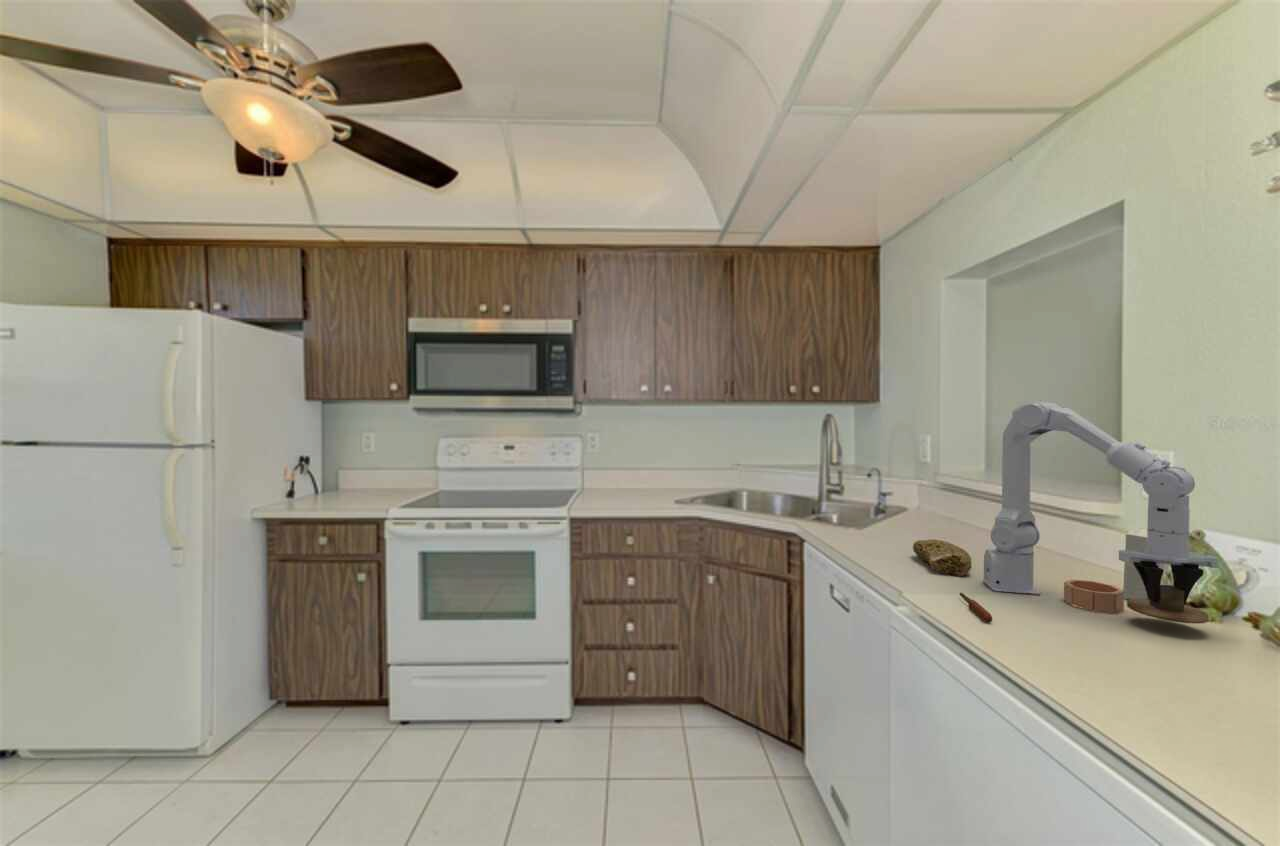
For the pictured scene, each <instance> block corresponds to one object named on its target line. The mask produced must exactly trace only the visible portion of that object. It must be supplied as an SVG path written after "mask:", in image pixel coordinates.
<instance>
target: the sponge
mask: <svg viewBox="0 0 1280 846" xmlns="http://www.w3.org/2000/svg"><path fill="white" fill-rule="evenodd" d="M912 549H913V552H914V554H915V555H916V556H917V557H918V558H920V559H922V560H923V561H925V562H928V564H929V565H930V567H931V568H932V569H934V570H935V571H936V572H938V573H941V574H949V575H953V576H954V575H955V576H956V575H958V576H957V577H963V576H966V575H967V574H968V573H969V572H970V571H971V570H972V557H971V556H970V554H969V552H967V551H966V550H965V549H963V548H962V547H959V546H957V545H955V544H953V543H950V542H949V541H945V540H939V539H934V538H933V539H923V540H921V539H919V540H917V541H916V540H915V542H914V543H913V545H912Z"/></svg>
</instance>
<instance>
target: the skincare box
mask: <svg viewBox="0 0 1280 846" xmlns="http://www.w3.org/2000/svg"><path fill="white" fill-rule="evenodd" d="M1125 550H1147V530H1146V529H1141V528H1132V529H1130V530H1129V531H1128V532H1127V533H1126V534H1125ZM1161 561H1163V560H1161ZM1156 565H1158V567H1159V568H1161V569H1163V570H1164V569H1165V570H1166V564H1157V563H1156ZM1123 568H1124V569H1123V570H1124V571H1123V587H1122V590H1123V591H1124V600H1127V599H1134V598H1146V599H1148V596H1147V592H1146V589H1145V586H1144V583H1143V581H1142V578H1141V576H1140V574H1139V573H1138V571H1137V569H1136V568H1135V566H1134V565H1133V562H1124V567H1123ZM1163 576H1164V571H1163V574H1162V577H1161V582H1160V585H1161V583H1162V578H1163Z"/></svg>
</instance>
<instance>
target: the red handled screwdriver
mask: <svg viewBox="0 0 1280 846" xmlns="http://www.w3.org/2000/svg"><path fill="white" fill-rule="evenodd" d="M959 596H960V597H961V598H962V599H963V600H964V601H965V602H966V603H967V606H968V608H969V609H970V610H972V612H974V613H975V614H976V615H977V616H978V617H979V618H980V620H981V621H982V622H984V623H988V622H989V623H992V622H993V615H992V614H991V613H990V612H989V611H987V610H986V609H985V608H984V607H983V606H982V605H981V604H979V602H977V601H976V600H975V599H971V598H970V597H968V596H967V595H966V594H965V593H963V592H959Z"/></svg>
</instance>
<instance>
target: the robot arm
mask: <svg viewBox="0 0 1280 846" xmlns="http://www.w3.org/2000/svg"><path fill="white" fill-rule="evenodd" d="M1052 431H1058V432H1066V433H1069V434H1070V435H1072V436H1074V437H1077V439H1080V440H1081V441H1083V442H1084V443H1086V444H1088V445H1089V446H1092V447H1093V448H1095V449H1096V450H1098V451H1100V452H1101V453H1104V454H1105V457H1106V461H1107V463H1108V465H1110V466H1112V467H1113V468H1114V469H1116V470H1118V471H1120V472H1121V473H1123V474H1124V475H1126V476H1127V477H1129V478H1130V479H1132V480H1133V481H1134V482H1136V483H1138V484H1141V485H1142V489H1143V490H1144V492H1145V493H1146V494H1147V496H1148V502H1147V503H1148V505H1147V550H1126V549H1119V550H1118V560H1119V561H1122V562H1123V563H1125V562H1133V565H1134V566H1135V568H1136V569H1137V571H1138V573H1139V574H1140V576H1141V578H1142V581H1143V583H1144V586H1145V589H1146V592H1147V596H1148V599H1149V600H1151V601H1153V602H1157V603H1158V602H1159V597H1160V582H1161V577H1162V574H1163V571H1164V570H1163V569H1161V568H1159V567H1158V565H1156V563H1157V564H1165V565H1169V566H1170V569H1171V574H1172V580H1173V586H1174V587H1177V588H1179V589H1181V590H1183V591H1184V605H1186V604H1187V601H1188V598H1189V596H1190V593H1191V591H1192V589H1193V588H1194V586H1195V585H1196V583H1197V582H1198V581H1199V580H1200V579H1201V578H1202V577H1203V575H1204V569H1203V568H1204V567H1205V568H1210V569H1219V568H1220V567H1219V562H1220V558H1219V557H1216V556H1213V555H1206V554H1205V555H1204V554H1195V553H1189V552H1190V551H1189V550H1190V549H1189V548H1190V513H1191V512H1190V495H1189V494H1191V493H1192V492H1193V491H1194V489H1195V486H1196V483H1195V479H1194V477H1193V475H1192V474H1191V473H1190V472H1188V471H1187V470H1186V469H1185V468H1183V467H1179V466H1170V465H1172V462H1171V461H1169V460H1167V459H1161V458H1159V457H1158V456H1156V455H1155V454H1153V453H1151V452H1149V451H1147V450H1146V445H1144V444H1143V443H1141V442H1136V443H1135V442H1133V441H1121V442H1120V441H1119V440H1117V439H1116V438H1114V437H1112V436H1111V435H1110V434H1109V433H1107V432H1105V431H1103V430H1102V429H1101V428H1099V427H1097V426H1096V425H1095V424H1094V423H1091V422H1090V421H1089V420H1087V419H1086V418H1084V417H1083V416H1081V415H1080V414H1079V413H1077V412H1075V411H1074V410H1073V409H1071V408H1068V407H1065V406H1063V405H1062V404H1061V403H1059V402H1054V401H1050V402H1049V401H1048V402H1041V401H1040V402H1039V401H1027V402H1024V403H1023V404H1020V406H1018V407H1017V408H1015V409H1014V410H1012V417H1011V419H1010V421H1009V422H1008V424H1007V426H1006V427H1005V429H1004V431H1003V432H1002V450H1001V451H1002V454H1001V455H1002V464H1001V465H1002V466H1001V467H1002V468H1001V470H1002V471H1001V473H1002V474H1001V477H1002V478H1001V479H1002V480H1001V481H1002V483H1001V488H1002V489H1001V509H1000V510H999V512H998V513H997V514H996V516H995V517H994V525H993V527H992V529H990V539H991V541H992V544H993V545H994V546H995V548H993V549H992V548H991V549H990V548H989V549H986V550H985V551H984V554H983V579H982V582H983V583H984V584H985V585H986V586H987V587H988V588H990V589H991V590H992V591H993V590H994V592H1002V591H1003V592H1005V593H1006V592H1007V593H1014V592H1015V593H1018V594H1027V593H1028V595H1042V594H1041V591H1039V590H1038V589H1037V588H1035V587H1034V564H1035V563H1034V557H1035V552H1034V546H1036V545H1037V544H1038V543H1039V542H1040V541H1039V540H1040V538H1041V536H1040V531H1039V529H1038V527H1037V524H1036V516H1035V515H1034V513H1032V511H1031V445H1032V442H1034V441H1035V440H1036V439H1038V438H1040V437H1041V436H1043V434H1046V433H1049V432H1052ZM1161 560H1163V561H1161ZM1200 567H1203V568H1200ZM1029 593H1030V594H1029Z"/></svg>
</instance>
